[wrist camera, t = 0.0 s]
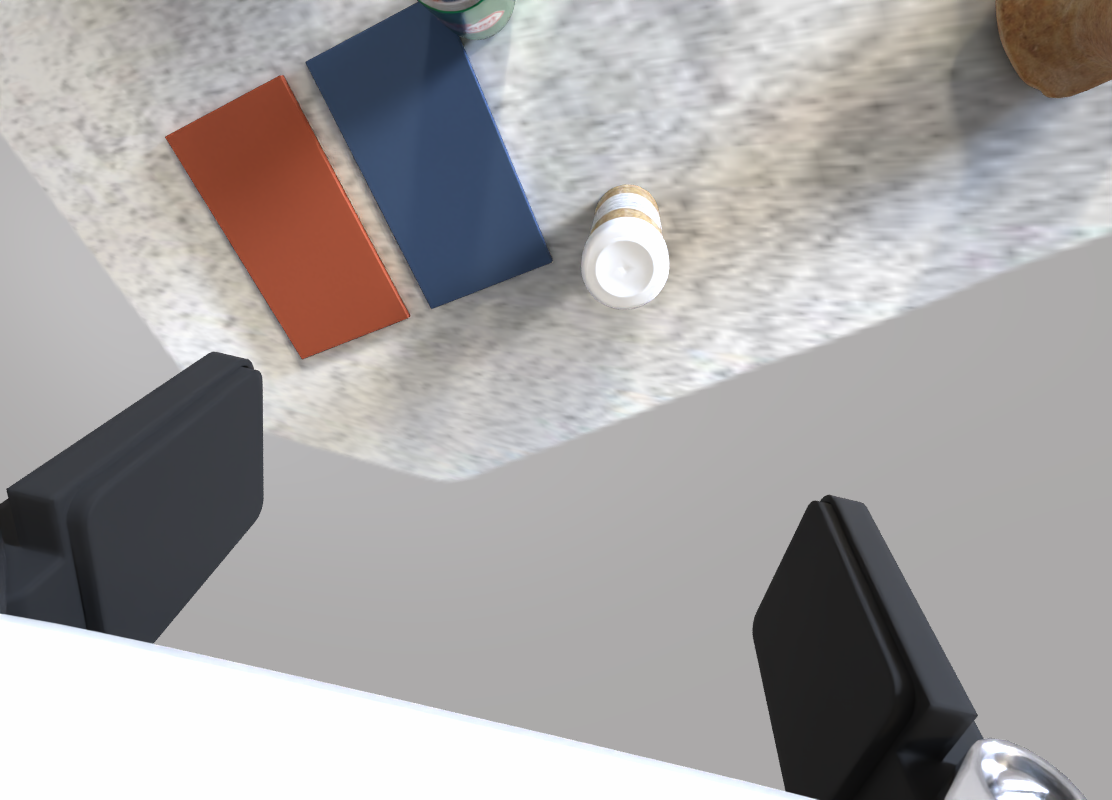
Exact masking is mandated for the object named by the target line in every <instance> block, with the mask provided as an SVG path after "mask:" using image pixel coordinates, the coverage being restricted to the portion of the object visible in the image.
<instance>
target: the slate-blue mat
mask: <svg viewBox="0 0 1112 800" xmlns="http://www.w3.org/2000/svg"><path fill="white" fill-rule="evenodd" d="M306 65H307V66H308V68H309V70H310V72H311V74H312V76H313V78H314V80H315V82H316V84H317V86H318V88H319V90H320V92H321V94H322V96H323V98H324V100H325V102H326V104H327V106H328V108H329V110H330V112H331V113H332V115H333V117H334V119H335V121H336V123H337V125H338V127H339V129H340V131H341V133H342V135H343V137H344V139H345V141H346V143H347V145H348V147H349V149H350V151H351V153H352V155H353V157H354V158H355V160H356V162H357V164H358V166H359V168H360V170H361V172H362V174H363V176H364V178H365V180H366V182H367V184H368V186H369V188H370V190H371V192H372V194H373V196H374V198H375V200H376V202H377V204H378V205H379V207H380V209H381V211H382V213H383V215H384V217H385V219H386V221H387V223H388V225H389V227H390V229H391V231H392V233H393V235H394V237H395V239H396V241H397V243H398V245H399V247H400V249H401V250H402V252H403V254H404V256H405V258H406V260H407V262H408V264H409V266H410V268H411V270H412V272H413V274H414V276H415V278H416V280H417V282H418V284H419V286H420V288H421V290H422V292H423V294H424V296H425V297H426V299H427V301H428V303H429V305H430V307H431V309H433V308H436V307H438V306H441V305H443V304H446V303H448V302H451V301H454V300H456V299H459V298H461V297H464V296H467V295H469V294H472V293H474V292H477V291H479V290H482V289H485V288H487V287H490V286H492V285H495V284H497V283H500V282H503V281H505V280H508V279H510V278H513V277H516V276H518V275H521V274H523V273H526V272H528V271H531V270H534V269H536V268H539V267H541V266H544V265H546V264H549V263H552V261H553V260H552V257H551V255H550V253H549V250H548V248H547V245H546V243H545V241H544V238H543V236H542V233H541V231H540V229H539V226H538V224H537V221H536V219H535V217H534V214H533V212H532V209H531V207H530V205H529V202H528V200H527V197H526V195H525V193H524V190H523V188H522V185H521V183H520V181H519V178H518V176H517V173H516V171H515V169H514V166H513V164H512V162H511V159H510V157H509V154H508V152H507V150H506V147H505V145H504V142H503V140H502V138H501V135H500V133H499V130H498V128H497V126H496V123H495V121H494V118H493V116H492V114H491V111H490V109H489V106H488V104H487V102H486V99H485V97H484V94H483V92H482V90H481V87H480V85H479V82H478V80H477V78H476V75H475V73H474V71H473V68H472V66H471V63H470V61H469V59H468V56H467V54H466V51H465V49H464V47H463V44H462V42H461V39H460V37H459V36H458V35H457V34H455V33H453V32H452V31H451V30H450V29H448V28H447V27H446V26H445V25H444V24H443V23H442V22H441V21H440V20H438V19H437V18H436V17H435V16H434V15H433V14H432V13H431V12H430V11H428V10H427V9H426V8H425V7H424V6H423V5H422V4H421V3H420V2H417V3H415V4H413V5H411V6H409V7H408V8H406V9H404V10H402V11H400V12H398V13H396V14H394V15H393V16H391V17H389V18H387V19H385V20H383V21H381V22H379V23H378V24H376V25H374V26H372V27H370V28H368V29H366V30H364V31H363V32H361V33H359V34H357V35H355V36H353V37H351V38H349V39H348V40H346V41H344V42H342V43H340V44H338V45H336V46H334V47H333V48H331V49H329V50H327V51H325V52H323V53H321V54H319V55H318V56H316V57H314V58H312V59H310V60H308V61H306Z"/></svg>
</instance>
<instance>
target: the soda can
mask: <svg viewBox="0 0 1112 800" xmlns="http://www.w3.org/2000/svg"><path fill="white" fill-rule="evenodd" d="M417 1H418V2H420V3H421V4H422V5H423V6H424V7H425V8H426V9H427V10H428V11H430V12H431V13H432V14H433V15H434V16H435V17H436V18H437V19H438V20H440V21H441V22H442V23H443V24H444V25H445V26H446V27H447V28H448V29H450V30H451V31H452V32H453V33H455V34H457V35H458V36H460V37H463V38H466V39H471V40H481V39H486V38H489V37H491V36H493V35H495V34H496V33H498V32H499V31H500V30H501V29H502V28H503V27H504V26H505V25H506V24H507V22H508V20H509V19H510V17H511V15H512V12H513V9H514V5H515V0H417Z"/></svg>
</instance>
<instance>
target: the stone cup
mask: <svg viewBox="0 0 1112 800" xmlns="http://www.w3.org/2000/svg"><path fill="white" fill-rule="evenodd" d="M995 3H996V18H997V25H998V31H999V35H1000V39H1001V42H1002V45H1003V48H1004V50H1005V52H1006V54H1007V56H1008V58H1009V60H1010V62H1011V64H1012V66H1013V67H1014V69H1015V71H1016V72H1017V74H1018V75H1019V77H1020V78H1021V79H1022V80H1023V81H1024V82H1025V83H1026V84H1027V85H1029V86H1031V87H1033V88H1036V89H1038V90H1041V92H1042V94H1043V95H1045V96H1047V97H1049V98H1063V97H1070V96H1073V95H1076V94H1078V93H1081V92H1084V91H1087V90H1089V89H1091V88H1094V87H1096V86H1098V85H1100V84H1103V83H1105V82H1107V81H1110V80H1112V0H996V1H995Z"/></svg>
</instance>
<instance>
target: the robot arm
mask: <svg viewBox="0 0 1112 800" xmlns="http://www.w3.org/2000/svg"><path fill="white" fill-rule="evenodd" d="M7 494H8V499H7V500H5V501H4V502H3V503H1V504H0V800H1087V799H1086V797H1085V796H1084V795H1083V794H1082V793H1081V792H1080V790H1079V789H1078V788H1077V787H1076V786H1075V785H1074V784H1073V783H1072V782H1071V781H1070V780H1069V779H1068V778H1067V777H1066V776H1065V775H1064V774H1063V773H1061V772H1060V771H1059V770H1058V769H1057V768H1055V767H1054V766H1053V765H1052V764H1050V763H1049V762H1048V761H1047V760H1045V759H1043V758H1042V757H1040V756H1038V755H1037V754H1035V753H1033V752H1032V751H1030V750H1029V749H1027V748H1025V747H1022V746H1020V745H1017V744H1015V743H1012V742H1010V741H1006V740H1001V739H995V738H987V739H983V737H982V735H981V733H980V731H979V729H978V727H977V725H976V723H975V722H974V720H975V719H976V717H977V716H978V715H977V713H976V711H975V709H974V708H973V705H972V704H971V702H970V700H969V698H968V696H967V694H966V692H965V690H964V689H963V687H962V685H961V683H960V681H959V679H958V678H957V675H956V673H955V672H954V670H953V668H952V666H951V664H950V662H949V660H948V659H947V657H946V655H945V653H944V651H943V650H942V647H941V645H940V644H939V642H938V640H937V638H936V636H935V634H934V632H933V631H932V629H931V627H930V625H929V623H928V621H927V619H926V617H925V615H924V614H923V612H922V610H921V608H920V606H919V604H918V603H917V600H916V599H915V597H914V595H913V593H912V591H911V589H910V587H909V586H908V584H907V582H906V580H905V578H904V576H903V574H902V572H901V571H900V569H899V567H898V565H897V563H896V561H895V559H894V558H893V556H892V554H891V552H890V550H889V548H888V546H887V544H886V543H885V541H884V539H883V537H882V535H881V533H880V531H879V530H878V527H877V526H876V524H875V522H874V520H873V519H872V516H871V514H870V512H869V511H868V509H867V507H866V506H865V505H864V504H863V503H861V502H857V501H853V500H849V499H844V498H840V497H836V496H832V495H827V496H824V497H823V498H822V499H821V501H820V502H819V501H812V502H811V503H810V504H809V505H808V507H807V509H806V511H805V513H804V515H803V517H802V519H801V521H800V524H799V526H798V528H797V530H796V532H795V534H794V536H793V538H792V540H791V542H790V544H789V546H788V548H787V550H786V553H785V554H784V557H783V559H782V561H781V563H780V565H779V567H778V569H777V571H776V573H775V575H774V577H773V579H772V581H771V583H770V585H769V588H768V590H767V592H766V594H765V596H764V598H763V600H762V602H761V604H760V606H759V608H758V610H757V612H756V615H755V617H754V622H753V639H754V644H755V649H756V654H757V658H758V663H759V668H760V673H761V677H762V682H763V687H764V692H765V696H766V701H767V706H768V711H769V715H770V720H771V725H772V730H773V734H774V738H775V744H776V748H777V753H778V757H779V762H780V767H781V772H782V776H783V781H784V786H785V791H786V792H785V791H781V790H777V789H774V788H769V787H766V786H762V785H758V784H754V783H750V782H746V781H742V780H738V779H734V778H729V777H725V776H721V775H717V774H713V773H708V772H704V771H700V770H696V769H692V768H688V767H684V766H679V765H675V764H671V763H667V762H663V761H658V760H654V759H650V758H645V757H642V756H637V755H633V754H629V753H624V752H621V751H616V750H612V749H608V748H603V747H600V746H596V745H591V744H587V743H583V742H579V741H575V740H571V739H566V738H562V737H558V736H553V735H549V734H545V733H541V732H536V731H531V730H528V729H523V728H519V727H515V726H511V725H506V724H502V723H497V722H494V721H489V720H485V719H481V718H477V717H472V716H468V715H464V714H459V713H454V712H451V711H446V710H442V709H438V708H434V707H429V706H425V705H421V704H416V703H412V702H408V701H403V700H399V699H394V698H390V697H386V696H382V695H377V694H373V693H369V692H364V691H360V690H356V689H352V688H347V687H342V686H338V685H334V684H329V683H325V682H321V681H316V680H312V679H308V678H303V677H299V676H294V675H290V674H285V673H281V672H277V671H272V670H268V669H263V668H259V667H254V666H250V665H246V664H241V663H237V662H233V661H228V660H224V659H219V658H215V657H211V656H206V655H202V654H197V653H193V652H188V651H184V650H179V649H175V648H170V647H166V646H161V645H157V644H153V643H154V642H155V641H156V640H157V639H158V637H159V636H160V635H161V634H162V633H163V631H164V630H165V629H166V628H167V627H168V626H169V624H170V623H171V622H172V621H173V619H174V618H175V617H176V616H177V615H178V614H179V612H180V611H181V610H182V609H183V608H184V606H185V605H186V604H187V603H188V602H189V600H190V599H191V598H192V597H193V596H194V594H195V593H196V592H197V591H198V589H199V588H200V587H201V586H202V585H203V583H204V582H205V581H206V580H207V579H208V577H209V576H210V575H211V574H212V573H213V572H214V570H215V569H216V568H217V567H218V566H219V564H220V563H221V562H222V561H223V560H224V558H225V557H226V556H227V555H228V554H229V552H230V551H231V550H232V549H233V548H234V546H235V545H236V544H237V543H238V541H239V540H240V539H241V538H242V537H243V536H244V534H245V533H246V532H247V531H248V530H249V528H250V527H251V526H252V525H253V524H254V522H255V521H256V520H257V518H258V516H259V514H260V512H261V509H262V505H263V384H262V375H261V373H260V372H259V371H258V370H254V367H253V365H252V362H251V361H250V360H248V359H244V358H240V357H236V356H231V355H227V354H223V353H218V352H211V353H209V354H207V355H206V356H204V357H203V358H201V359H200V360H198V361H197V362H195V363H194V364H192V365H191V366H189V367H188V368H186V369H185V370H183V371H182V372H180V373H179V374H177V375H176V376H174V377H173V378H171V379H170V380H169V381H167V382H165V383H164V384H163V385H161V386H160V387H158V388H156V389H155V390H153V391H152V392H151V393H149V394H147V395H146V396H145V397H143V398H142V399H140V400H139V401H137V402H136V403H134V404H133V405H131V406H130V407H128V408H127V409H125V410H124V411H122V412H121V413H119V414H118V415H116V416H115V417H113V418H112V419H110V420H109V421H107V422H106V423H104V424H103V425H101V426H100V427H98V428H97V429H95V430H94V431H92V432H91V433H89V434H88V435H86V436H85V437H83V438H82V439H80V440H79V441H77V442H76V443H74V444H73V445H71V446H70V447H69V448H67V449H66V450H64V451H63V452H61V453H60V454H58V455H57V456H55V457H54V458H52V459H51V460H49V461H48V462H46V463H45V464H43V465H42V466H40V467H39V468H37V469H36V470H34V471H33V472H31V473H30V474H28V475H27V476H25V477H24V478H22V479H21V480H19V481H18V482H16V483H15V484H13V485H12V486H10V487H9V488H7Z"/></svg>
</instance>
